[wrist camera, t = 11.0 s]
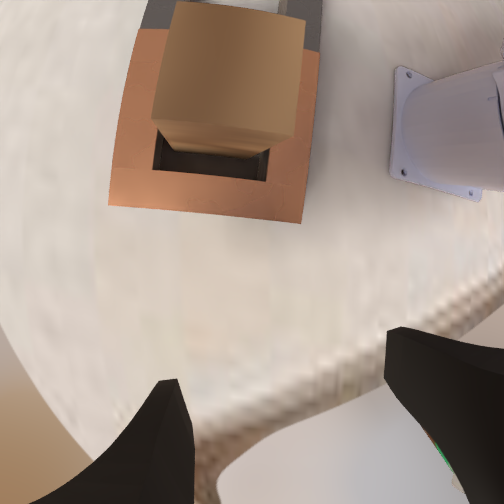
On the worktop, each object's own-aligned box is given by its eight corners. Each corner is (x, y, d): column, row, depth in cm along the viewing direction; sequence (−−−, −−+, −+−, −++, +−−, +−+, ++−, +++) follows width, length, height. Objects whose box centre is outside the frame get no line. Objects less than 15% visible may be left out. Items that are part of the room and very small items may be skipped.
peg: (255, 92, 16) (305, 20, 8) (246, 159, 17) (293, 135, 9) (185, 83, 16) (176, 1, 7) (174, 151, 17) (151, 118, 8)
